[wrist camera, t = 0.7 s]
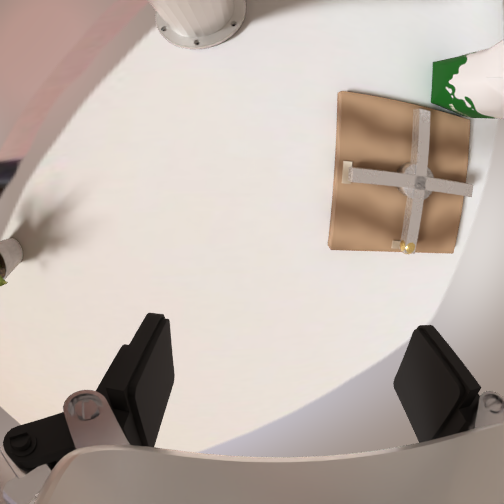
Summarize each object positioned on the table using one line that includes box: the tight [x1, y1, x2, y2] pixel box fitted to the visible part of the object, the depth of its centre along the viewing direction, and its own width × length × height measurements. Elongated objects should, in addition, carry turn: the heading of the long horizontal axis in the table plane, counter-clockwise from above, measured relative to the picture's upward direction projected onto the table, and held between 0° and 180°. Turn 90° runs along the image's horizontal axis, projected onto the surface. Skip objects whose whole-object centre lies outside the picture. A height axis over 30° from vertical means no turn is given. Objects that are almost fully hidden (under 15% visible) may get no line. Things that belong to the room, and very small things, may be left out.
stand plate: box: [328, 91, 470, 253], centre depth 39 cm, size 22×22×2 cm
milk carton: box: [431, 40, 504, 119], centre depth 25 cm, size 9×9×20 cm
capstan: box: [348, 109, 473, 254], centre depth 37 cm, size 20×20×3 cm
